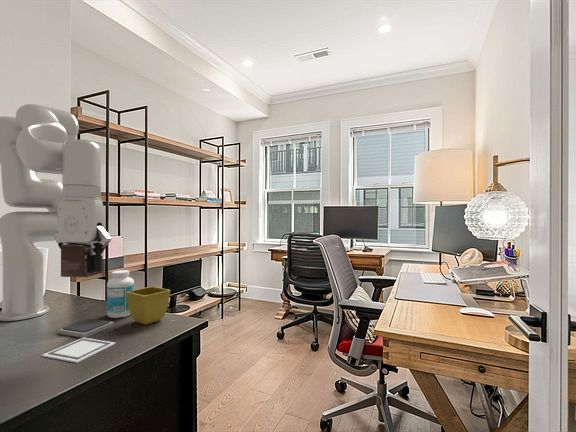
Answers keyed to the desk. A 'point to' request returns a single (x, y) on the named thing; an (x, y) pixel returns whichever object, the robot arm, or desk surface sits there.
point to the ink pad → (86, 328)
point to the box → (76, 260)
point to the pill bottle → (119, 294)
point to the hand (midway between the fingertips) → (82, 270)
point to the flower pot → (148, 304)
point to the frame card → (79, 350)
